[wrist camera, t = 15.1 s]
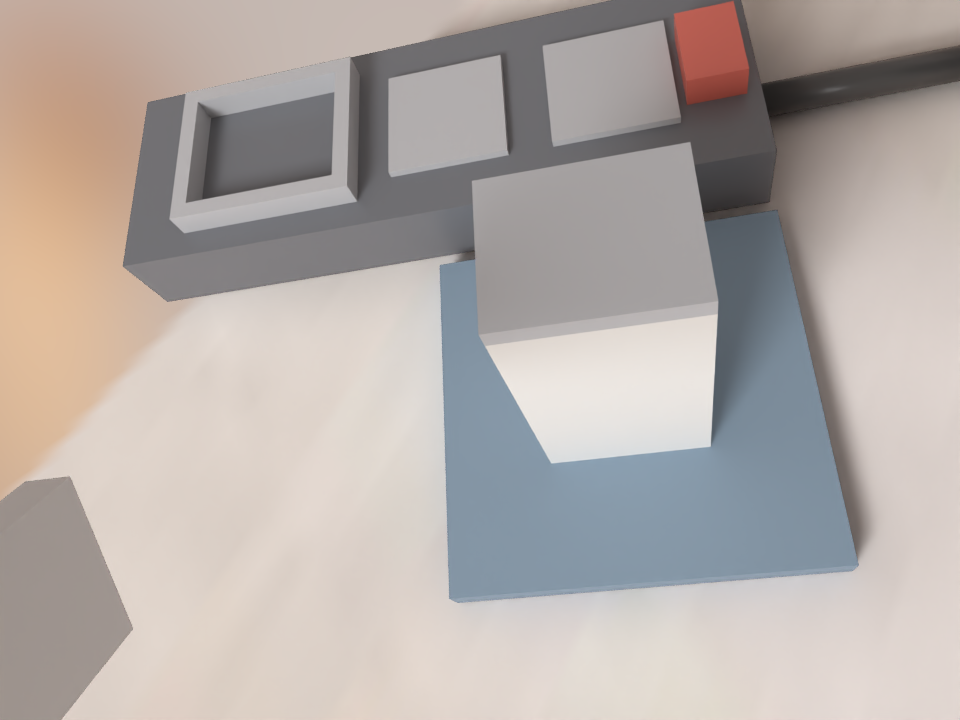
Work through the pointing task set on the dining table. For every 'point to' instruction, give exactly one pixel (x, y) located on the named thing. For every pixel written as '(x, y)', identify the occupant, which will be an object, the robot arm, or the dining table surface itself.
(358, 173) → the power strip
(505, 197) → the block
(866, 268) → the dining table surface
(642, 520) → the mat
